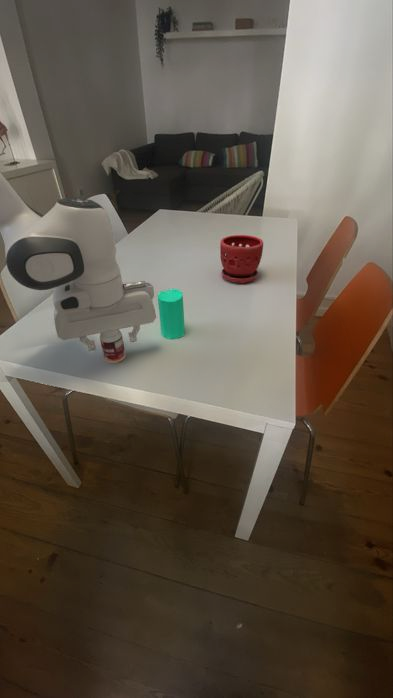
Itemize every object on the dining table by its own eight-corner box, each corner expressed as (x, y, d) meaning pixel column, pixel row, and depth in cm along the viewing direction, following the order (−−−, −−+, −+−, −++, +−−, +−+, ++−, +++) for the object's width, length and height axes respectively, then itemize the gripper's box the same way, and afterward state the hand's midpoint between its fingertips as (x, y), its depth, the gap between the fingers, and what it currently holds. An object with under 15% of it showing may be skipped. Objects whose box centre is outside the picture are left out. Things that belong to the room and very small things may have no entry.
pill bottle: (100, 359, 72) (92, 329, 66) (114, 348, 75) (107, 318, 70) (117, 366, 70) (109, 335, 65) (130, 353, 73) (124, 323, 68)
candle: (186, 326, 82) (184, 283, 74) (182, 339, 77) (180, 295, 70) (163, 324, 82) (159, 282, 75) (158, 338, 78) (153, 294, 70)
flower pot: (266, 282, 100) (271, 244, 93) (227, 288, 98) (229, 250, 90) (249, 266, 110) (252, 231, 103) (214, 271, 108) (214, 235, 100)
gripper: (149, 273, 67) (155, 327, 75) (45, 290, 62) (65, 346, 70) (155, 286, 62) (162, 342, 70) (44, 305, 57) (66, 363, 65)
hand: (113, 344), depth 70 cm, fingers open, 8 cm apart
